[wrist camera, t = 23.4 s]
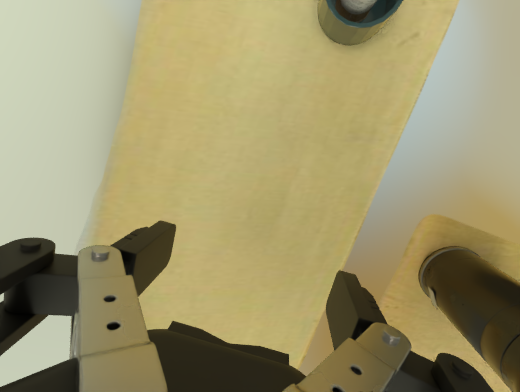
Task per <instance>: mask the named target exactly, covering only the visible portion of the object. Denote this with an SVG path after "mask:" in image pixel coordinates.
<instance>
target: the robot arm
mask: <svg viewBox="0 0 520 392" xmlns="http://www.w3.org/2000/svg"><path fill="white" fill-rule="evenodd" d="M175 232H176V225H175V224H171V223H168V222H164V221H158V222H157V223H155V224H154V225H152V226H151V227H144V228H140V229H136V230H135V231H133V232H131V233H130V234H128V235H127V236H125V237H124V238H122V239H120V240H119V241H117V242H115V243H114V244H112V245H111V246H105V245H95V246H89V247H86V248H84V249H82V250H81V251H79V253H78V256H75V255H64V254H55V243H54V242H52V241H51V240H48V239H44V238H24V239H18V240H15V241H12V242H9V243H7V244H5V245H3V246H0V294H2V293H4V301H2V302H1V303H0V356H1V355H2V354H3V353H4V352H5V351H7V350H8V349H9V348H10V347H11V346H12V345H14V344H15V343H16V342H17V341H19V340H20V339H21V338H22V337H23V336H25V335H26V334H27V333H28V332H29V331H31V330H32V329H33V328H34V327H35V326H36V325H38V324H39V323H40V322H41V321H42V320H44V319H45V318H46V317H47V316H48V315H64V316H72V317H71V338H70V339H71V340H70V359H69V360H67V361H64V362H62V363H59V364H57V365H54V366H52V367H49V368H47V369H44V370H42V371H40V372H37V373H34V374H32V375H29V376H27V377H24V378H22V379H19V380H17V381H15V382H12V383H9V384H7V385H5V386H2V387H0V392H494V391H493V390H492V389H491V387H490V386H489V385H488V383H487V382H486V381H485V379H484V378H483V377H482V376H481V374H480V373H479V372H478V371H477V370H476V369H474V368H473V367H472V366H471V365H469V364H468V363H467V362H465V361H463V360H462V359H460V358H458V357H456V356H454V355H451V354H447V353H440V354H438V356H437V358H436V360H435V362H432V361H430V360H428V359H426V358H424V357H422V356H420V355H418V354H416V353H414V352H412V351H411V343H410V341H409V340H408V339H407V338H406V336H405V335H403V334H402V333H401V332H400V331H398V330H397V329H395V328H394V327H392V326H390V325H388V324H387V322H386V320H385V318H384V316H383V315H382V313H381V311H380V310H379V307H378V305H377V304H376V301H375V299H374V298H373V296H372V295H371V294H370V293H369V292H368V291H367V290H366V289H365V288H363V287H361V285H360V283H359V281H358V279H357V277H356V275H355V274H351V273H347V272H344V271H338V272H337V274H336V277H335V280H334V283H333V286H332V288H331V291H330V294H329V297H328V300H327V305H326V314H327V319H328V323H329V328H330V333H331V337H332V342H333V347H334V352H332V353H331V354H330V355H329V356H328V357H327V358H326V359H325V360H324V361H323V362H322V363H321V364H320V365H318V366H317V367H316V368H315V369H314V370H313V371H312V372H311V373H310V374H309V375H308V376H307V377H306V376H305V375H304V374H302V373H301V372H300V371H298V370H297V369H295V368H294V367H292V366H290V365H289V354H285V353H282V352H278V351H275V350H272V349H268V348H265V347H261V346H252V345H240V344H230V343H227V342H225V341H223V340H221V339H219V338H217V337H215V336H213V335H211V334H210V333H208V332H206V331H204V330H202V329H199V328H196V327H192V326H189V325H185V324H182V323H179V322H175V321H172V323H171V325H170V326H169V328H168V329H153V330H147V329H146V326H145V322H144V318H143V314H142V310H141V306H140V303H139V299H138V297H139V295H140V294H141V293H142V292H143V291H144V290H145V289H146V288H147V287H148V286H149V285H150V284H151V282H152V281H153V280H154V279H155V278H156V277H157V276H158V275H159V274H160V273H161V272H162V270H163V269H164V268H165V267H166V266H167V264H168V262H169V260H170V257H171V252H172V247H173V242H174V237H175ZM419 281H420V285H421V287H422V289H423V291H424V292H425V293H426V294H427V296H428V297H429V298H431V301H432V304H433V305H434V306H435V307H436V308H437V306H438V307H439V308H440V310H441V311H442V312H443V313H444V314H445V315H446V316H447V318H448V319H449V320H450V321H451V322H452V323H453V325H454V326H455V327H456V328H457V329H458V330H459V331H460V333H461V334H462V335H463V336H464V337H465V338H466V339H467V341H468V342H469V343H470V344H471V345H472V346H473V347H474V349H475V350H476V351H477V352H478V353H479V354H480V355H481V357H482V358H483V359H484V360H485V361H486V362H487V363H488V364H489V366H490V367H491V368H492V369H493V370H494V371H495V372H496V374H497V375H498V376H499V377H500V378H501V379H502V381H503V382H504V383H505V384H506V385H507V386H508V387H509V389H510V390H511V391H512V392H520V283H519V282H518V281H516V280H515V279H513V278H512V277H510V276H508V275H507V274H505V273H504V272H502V271H501V270H499V269H498V268H496V267H494V266H493V265H491V264H490V263H488V262H487V261H485V260H484V259H482V258H481V257H480V256H479V255H477V254H476V253H474V252H472V251H471V250H469V249H466V248H463V247H446V248H443V249H440V250H438V251H436V252H434V253H433V254H431V255H430V256H429V257H428V258H427V259H426V260H425V261H424V263H423V264H422V266H421V269H420V273H419ZM437 310H438V309H437Z"/></svg>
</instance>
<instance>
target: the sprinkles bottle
mask: <svg viewBox="0 0 520 392" xmlns="http://www.w3.org/2000/svg"><path fill="white" fill-rule="evenodd" d="M376 1H377V0H337V1H336V11H337V12H338V13H339V15H341V16H342V17H344V18H345V19H347V20H348V21H352V22H356V23H359V22H361V21H362V20H363V19H365V18H366V16H367V15H368V13H369V11H370V9H371V8H372V7H373V5H374V4H375V2H376Z"/></svg>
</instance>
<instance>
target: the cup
mask: <svg viewBox="0 0 520 392" xmlns="http://www.w3.org/2000/svg"><path fill="white" fill-rule="evenodd" d="M336 1H337V0H319V3H318V17H319V22H320V25H321V27H322V29H323V31H324V32H325V34H326V35H327V36H328V37H329V38H330V39H332V40H333V41H335V42H337V43H339V44H343V45H356V44H360V43H362V42H365V41H366V40H368V39H370V38H371V37H372V36H373V35H375V34H376V33H377V32H378V31H379V30H380V29H381V28H382V26H383V25H384V24H385V23H386V22H387V21H388V20H389V18H390V17H391V16H392V15H393V14H394V13H395V12H396V10H397V9H398V7H399V6H400V4H401V3H402V1H403V0H377V1H376V2H375V4H374V5H373V7H372V8H371V9H370V11H369V13H368V15H367V16H366V18H365V19H363V20H362V21H361V22H359V23H356V22H352V21H348V20H347V19H345V18H344V17H342V16H341V15H339V13H338V12H337V11H336Z"/></svg>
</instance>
